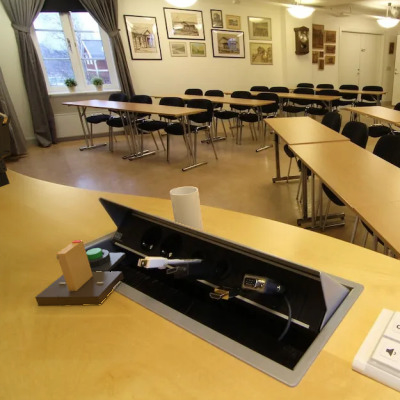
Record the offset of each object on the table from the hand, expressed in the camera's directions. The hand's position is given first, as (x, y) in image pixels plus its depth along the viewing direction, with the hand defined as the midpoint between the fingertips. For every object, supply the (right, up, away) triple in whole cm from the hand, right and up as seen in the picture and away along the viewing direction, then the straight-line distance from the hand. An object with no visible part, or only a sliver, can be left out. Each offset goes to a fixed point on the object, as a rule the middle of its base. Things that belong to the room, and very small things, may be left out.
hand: (1, 185), depth 77 cm
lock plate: (+19, -26, +1) cm, 32 cm away
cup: (+34, -16, +29) cm, 47 cm away
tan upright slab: (+19, -24, 0) cm, 30 cm away
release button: (+15, -19, +11) cm, 27 cm away
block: (+15, -22, +12) cm, 29 cm away
